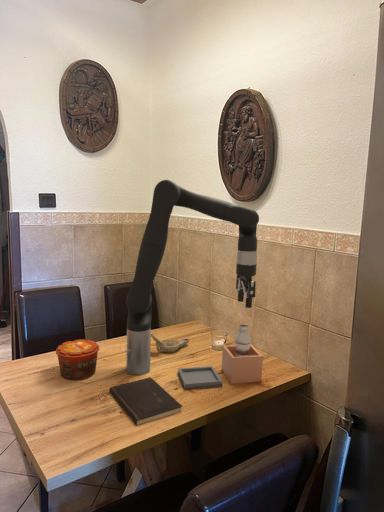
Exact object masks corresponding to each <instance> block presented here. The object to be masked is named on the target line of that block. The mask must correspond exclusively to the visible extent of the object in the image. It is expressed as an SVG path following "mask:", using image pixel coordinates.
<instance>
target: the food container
mask: <svg viewBox="0 0 384 512" xmlns="http://www.w3.org/2000/svg"><path fill="white" fill-rule="evenodd" d="M99 351H100V345H99V344H98V343H96V341H93V340H91V339H90V340H89V339H87V340H86V339H75V340H72V341H71V340H68V341H65V342H63V343H61V344H59V345H58V347H57V348H56V350H55V353H56V355H57V360H58V365H59V370H60V376H61V377H62V378H63V379H64V380H67V381H79V380H85V379H88V378H91V377H92V376H94V375H95V373H96V370H97V363H98V362H97V361H98V354H99Z"/></svg>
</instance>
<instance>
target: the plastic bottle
mask: <svg viewBox="0 0 384 512" xmlns="http://www.w3.org/2000/svg"><path fill="white" fill-rule="evenodd" d="M250 344H251V345H252V338H251V335H250V333H249V326H248V325H247V324H239V325H238V332H237V334H236V335H235V336H234V345H235V357H239V356H249V349H250Z"/></svg>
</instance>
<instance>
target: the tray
mask: <svg viewBox="0 0 384 512" xmlns="http://www.w3.org/2000/svg"><path fill="white" fill-rule="evenodd" d="M177 369H178V370H177V374H178V376H179V379H180V382H181V384H182V386H183V389H184V390H195V389H206V388H207V389H208V388H217V387H218V388H219V387H223V379H222V378H221V376H220V375H219V374H218V372H217V370H216V368H215V367H214V366H213V365H208V366H195V367H194V366H193V367H180V368H177Z"/></svg>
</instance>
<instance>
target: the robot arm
mask: <svg viewBox="0 0 384 512" xmlns="http://www.w3.org/2000/svg"><path fill="white" fill-rule="evenodd" d="M152 194H153V195H152V202H151V208H150V214H149V217H148V220H147V223H146V225H145V229H144V232H143V235H142V239H141V242H140V246H139V250H138V255H137V259H136V260H137V261H136V264H135V272H134V277H133V281H132V282H131V283H132V284H131V287H130V289H129V292H128V294H127V296H126V299H125V304H126V308H127V309H128V311H127V313H128V314H127V319H126V320H127V321H126V346H125V347H126V348H125V349H126V351H125V352H126V355H125V356H126V359H125V360H126V374H131V375H145V374H148V373H149V372H150V370H151V346H152V345H151V337H152V336H151V334H152V332H151V328H152V327H151V326H152V314H153V312H152V311H153V310H152V309H153V306H152V305H153V297H152V290H153V284H154V281H155V277H156V275H157V273H158V271H159V268H160V266H161V264H162V260H163V257H164V254H165V250H166V248H167V247H166V246H167V241H168V234H169V224H170V220H171V219H170V218H171V215H172V213H173V211H174V210H173V209H174V207H181V208H186V209H190V210H193V211H195V212H198V213H201V214H203V215H206V216H209V217H211V218H215V219H216V220H217V219H218V220H221V221H225V222H229V223H232V224H234V225H237V226H238V239H237V240H238V241H237V253H236V264H235V265H236V267H235V274H236V277H235V278H236V279H235V280H236V281H235V289H236V291H237V301H238V302H239V303H240V302H244V300H245V308H246V309H250V308H252V307H253V304H252V303H253V298H256V287H257V286H256V281H255V280H253V277H255V276H256V275H257V263H258V262H257V261H258V255H257V254H258V253H257V250H258V248H257V247H258V238H257V229H258V227H257V226H258V224H259V222H260V216H259V214H258V212H257V211H256V210H255V209H251V208H249V207H245V206H240V205H236V204H233V203H231V202H230V201H229V202H228V201H226V200H223V199H219V198H216V197H212V196H209V195H208V196H207V195H204V194H199V193H196V192H192V191H190V190H188V189H186V188H184V187H181V186H179V185H178V184H177V183H176V182H174V181H172V180H170V179H163V180H161V181H159V182H158V183H157V184H156V185H155V187H154V189H153V193H152ZM244 295H245V296H244ZM244 298H245V299H244Z"/></svg>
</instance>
